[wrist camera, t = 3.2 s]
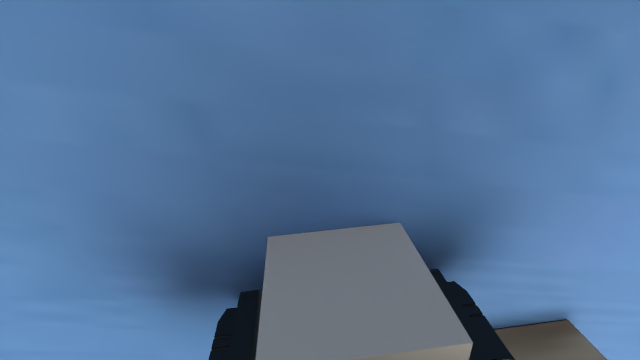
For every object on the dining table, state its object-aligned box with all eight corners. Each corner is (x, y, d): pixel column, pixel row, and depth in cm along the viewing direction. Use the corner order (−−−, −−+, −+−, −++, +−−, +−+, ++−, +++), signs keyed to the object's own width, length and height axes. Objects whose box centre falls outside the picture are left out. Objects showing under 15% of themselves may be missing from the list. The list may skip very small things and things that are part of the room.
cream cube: (268, 235, 11) (253, 372, 6) (399, 221, 11) (473, 343, 7) (283, 326, 13) (281, 475, 9) (393, 312, 13) (445, 449, 9)
